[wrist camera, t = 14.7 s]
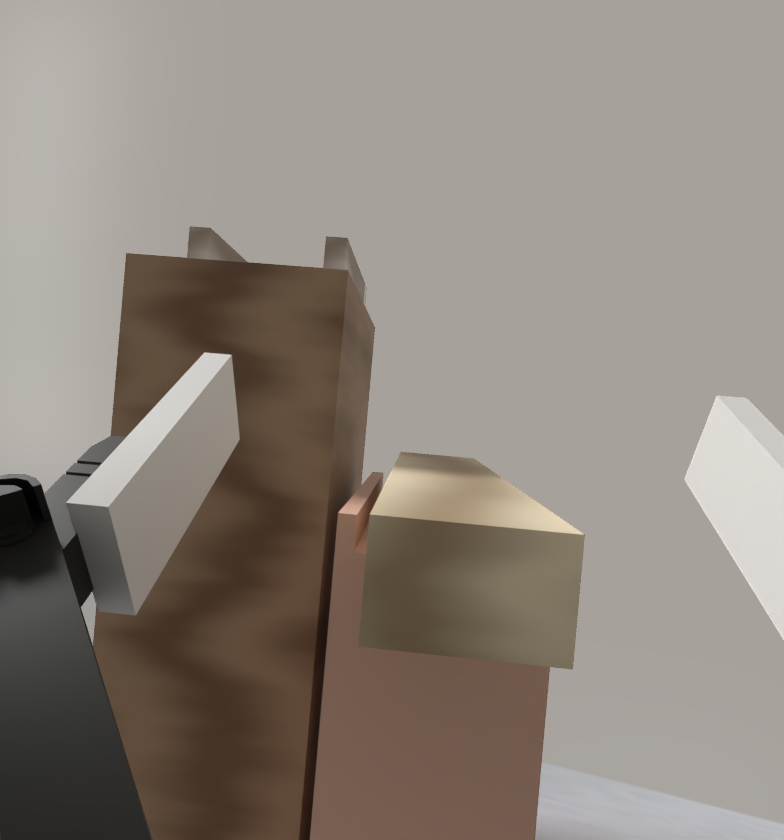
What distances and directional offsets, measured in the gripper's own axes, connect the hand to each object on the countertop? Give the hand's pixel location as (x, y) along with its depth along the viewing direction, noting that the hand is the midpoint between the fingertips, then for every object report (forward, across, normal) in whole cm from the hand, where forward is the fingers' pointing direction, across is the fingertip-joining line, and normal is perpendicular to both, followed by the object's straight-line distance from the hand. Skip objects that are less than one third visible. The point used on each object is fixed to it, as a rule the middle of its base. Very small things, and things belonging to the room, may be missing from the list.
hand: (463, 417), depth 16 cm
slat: (+2, 0, -6) cm, 7 cm away
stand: (-1, -9, -28) cm, 29 cm away
